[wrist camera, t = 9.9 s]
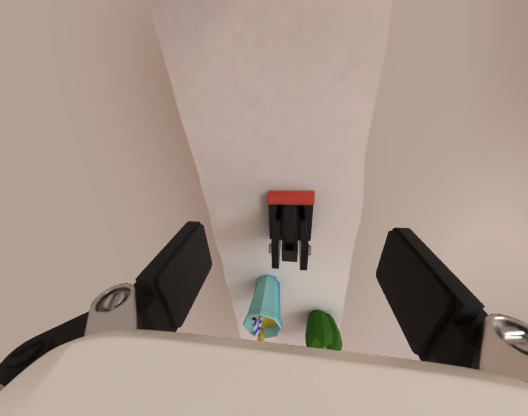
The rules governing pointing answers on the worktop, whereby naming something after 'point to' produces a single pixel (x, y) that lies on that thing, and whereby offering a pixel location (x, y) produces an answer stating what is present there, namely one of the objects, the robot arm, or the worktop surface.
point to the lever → (290, 217)
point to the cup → (265, 309)
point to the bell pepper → (322, 332)
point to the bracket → (300, 231)
